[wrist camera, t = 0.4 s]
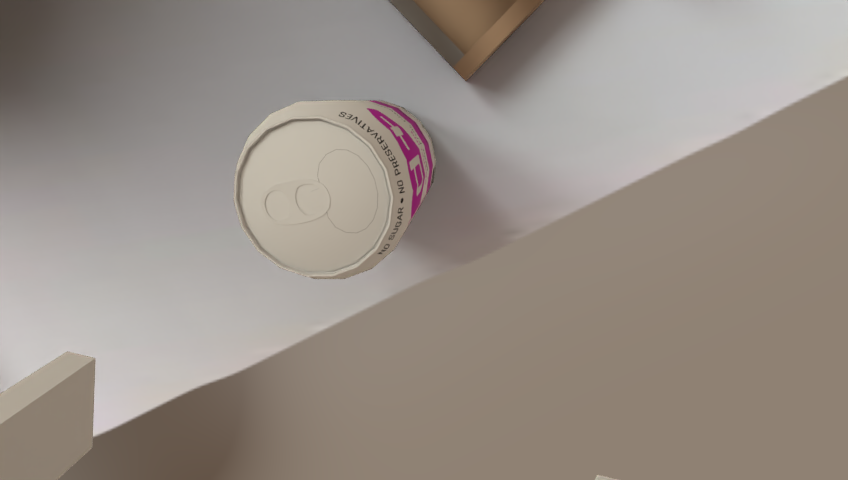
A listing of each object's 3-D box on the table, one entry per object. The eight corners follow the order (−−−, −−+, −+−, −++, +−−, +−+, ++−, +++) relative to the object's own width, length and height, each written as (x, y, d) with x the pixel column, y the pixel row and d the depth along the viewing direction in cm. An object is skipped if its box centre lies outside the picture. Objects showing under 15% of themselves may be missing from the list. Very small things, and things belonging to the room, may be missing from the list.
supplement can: (422, 88, 36) (381, 79, 22) (447, 208, 38) (424, 274, 23) (307, 114, 37) (196, 122, 23) (336, 229, 39) (250, 304, 25)
